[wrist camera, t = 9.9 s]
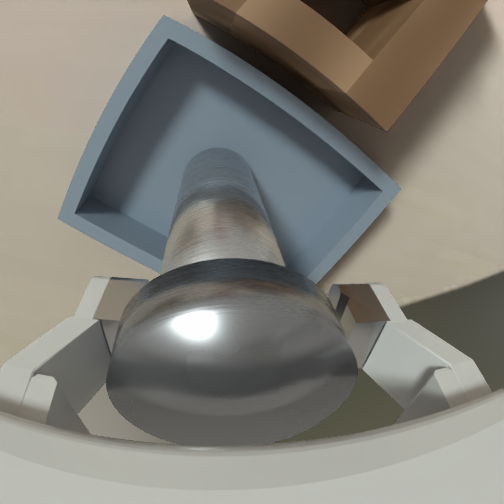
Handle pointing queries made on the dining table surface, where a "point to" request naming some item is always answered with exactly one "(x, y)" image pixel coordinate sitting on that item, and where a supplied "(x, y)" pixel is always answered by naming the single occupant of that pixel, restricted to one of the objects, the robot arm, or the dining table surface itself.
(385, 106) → the block
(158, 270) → the tray
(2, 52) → the dining table surface
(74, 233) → the dining table surface
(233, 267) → the steel pin
